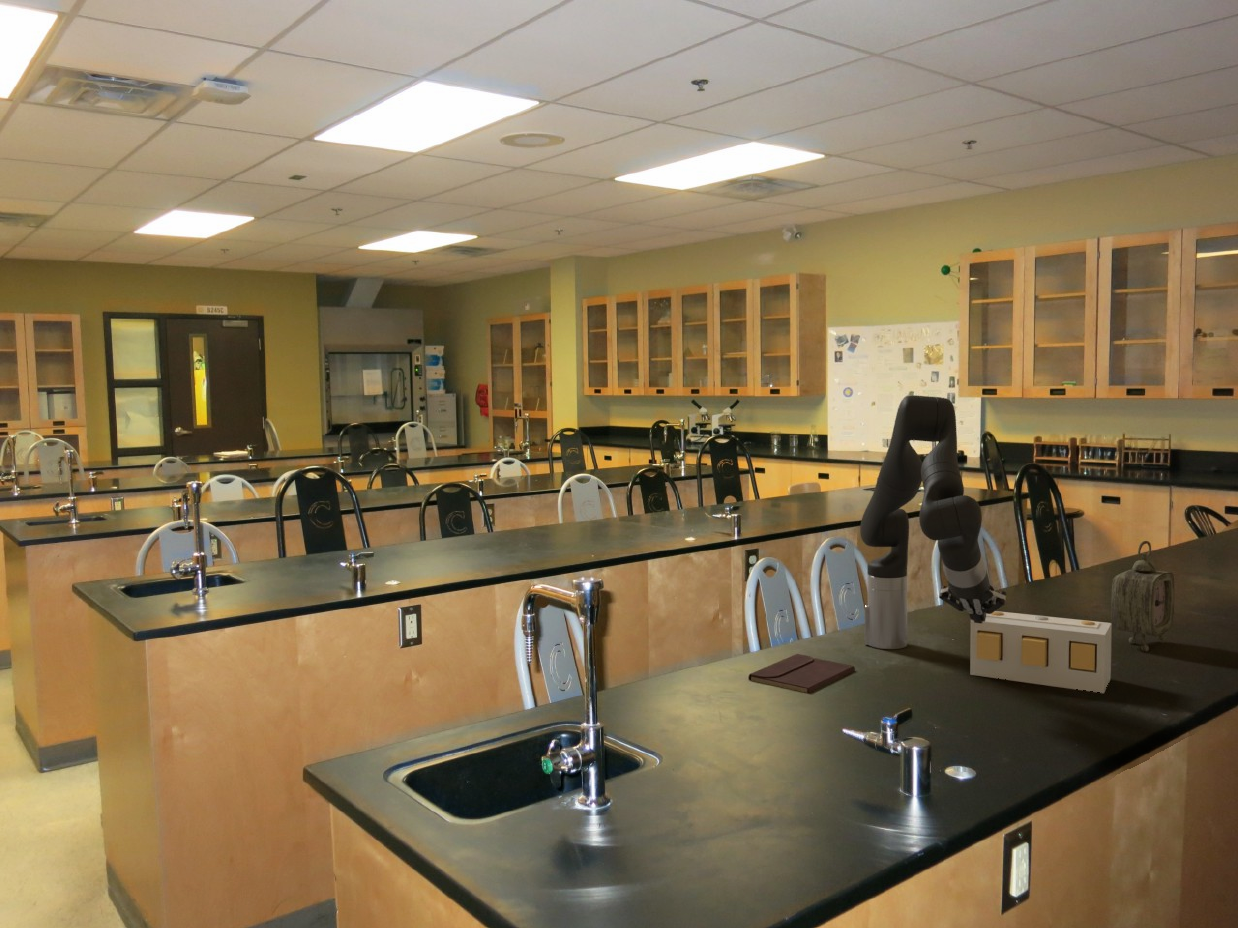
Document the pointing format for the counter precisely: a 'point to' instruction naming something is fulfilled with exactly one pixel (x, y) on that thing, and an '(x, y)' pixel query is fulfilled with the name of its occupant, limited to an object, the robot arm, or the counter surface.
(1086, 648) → the button
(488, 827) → the counter surface
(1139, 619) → the tabletop clock
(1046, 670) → the button console
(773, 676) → the notebook
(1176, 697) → the counter surface
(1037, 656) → the middle button
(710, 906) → the counter surface
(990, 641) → the button
